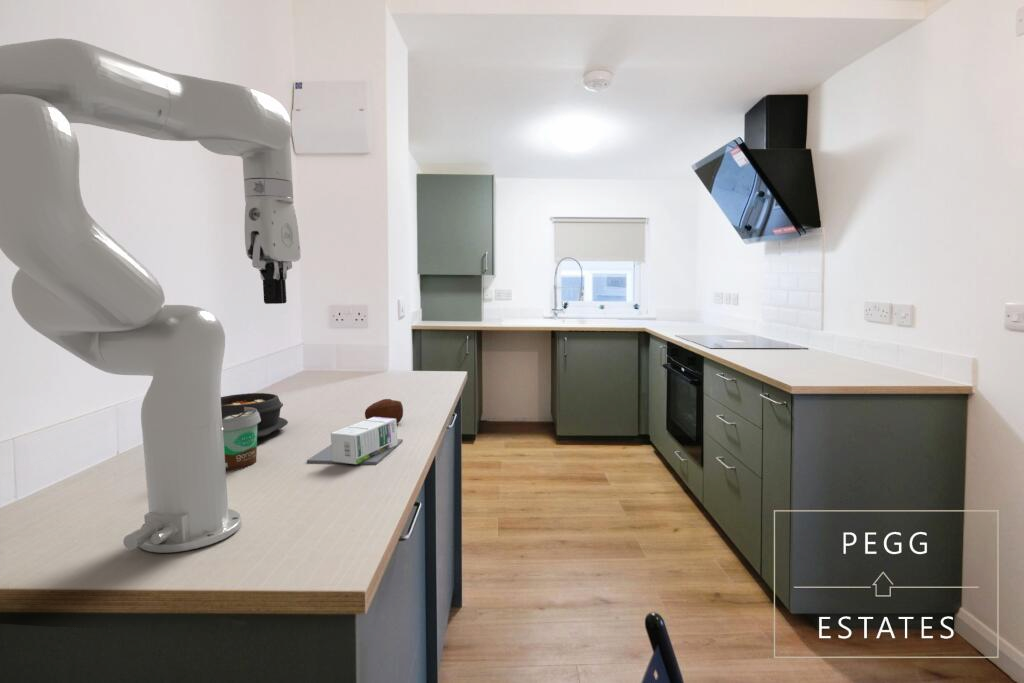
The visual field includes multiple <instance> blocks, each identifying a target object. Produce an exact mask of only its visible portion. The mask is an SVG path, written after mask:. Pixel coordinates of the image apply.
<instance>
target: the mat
mask: <svg viewBox="0 0 1024 683" xmlns="http://www.w3.org/2000/svg"><path fill="white" fill-rule="evenodd" d="M403 441H404V440H403V439H402V438H401V439H400V438H397V443H398V445H396V446H394V447H392V448H390V449H387V450H385V451H383V452H381V453H379V454H377V455H375V456H373V457H371V458H368V459H366V460H364V461H362V462H360V463H358V464H357V465H378V464H379V463H380V462H381V461H383V460H384V459H385V458H386V457H387V456H388V455H390V453H391V452H393V451H394V450H395V449H396V448H398V446H400V445H401V444H402V443H403ZM306 463H308V464H339V465H340V464H341V465H342V464H344V465H345V464H346V465H350V463H342V462H334V461H332V447H331V444H330V445H328V446H326V447H325V448H324V449H322V450H321V451H319V452H317V453H316V454H314V455H313V456H311V457H310V458H308V459H306Z"/></svg>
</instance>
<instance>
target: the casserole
mask: <svg viewBox="0 0 1024 683" xmlns="http://www.w3.org/2000/svg"><path fill="white" fill-rule="evenodd" d="M283 406H284V403H282V401H281V400H280V397H279V395H276V394H272V393H268V392H267V393H265V392H252V393H249V392H248V393H240V394H239V393H238V394H230V395H224V396H221V411H222V418H223V417H225V416H228V415H236V414H239V413H241V412H244V407H251V408H255V409H257V412H259V415H260V418H261V421H260V422H259V423H257V439H258V438H263V437H266V436H268V435H270V434H272V433H273V432H275V431H278V430H279V429H281V428H283V427H285V426H287V425H288V423H289V421H288V420H287V419H286V418H283V417H280V414H281V409H282V407H283Z"/></svg>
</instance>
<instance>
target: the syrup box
mask: <svg viewBox="0 0 1024 683" xmlns="http://www.w3.org/2000/svg"><path fill="white" fill-rule="evenodd" d="M397 425H398V423H397V424H396V419H393V418H381V417H372V418H370V419H365V420H362V421H360V422H356V423H354V424H352V425H349V426H347V427H346V426H345V427H343V428H341V429H337V430H336V431H335V430H334V431H333V432H330V440H331V441H330V442H331V444H330V445H331V447H332V461H334V462H342V463H350V464H351V465H359V464H358V463H360V462H362V461H364V460H366V459H368V458H371V457H373V456H375V455H377V454H379V453H381V452H383V451H385V450H387V449H390V448H392V447H394V446H396V445H398V443H397V439H398V430H397V429H398V426H397ZM398 446H399V445H398ZM350 464H349V465H350Z"/></svg>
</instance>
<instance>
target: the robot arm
mask: <svg viewBox="0 0 1024 683" xmlns="http://www.w3.org/2000/svg"><path fill="white" fill-rule="evenodd" d="M72 124H83V125H91V126H96V127H99V128H106V129H109V130H115V131H118V132H119V131H120V132H123V133H128V134H132V135H137V136H140V137H141V136H142V137H146V138H150V139H153V140H161V141H174V142H195V141H196V142H198V143H199V144H200V145H201V146H202V147H203V148H204V149H206V150H208V151H210V152H212V153H214V154H216V155H223V156H234V157H241V159H242V172H243V188H244V189H243V190H244V202H245V207H244V209H245V210H244V244H245V245H244V247H245V252H246V257H247V258H249V259H250V260H251V262H252V263H251V265H252V267H253V268H254V269H256V270H258V271H259V275H260V279H261V280H262V291H263V303H264V304H266V305H271V304H272V305H274V304H275V305H276V304H278V305H279V304H280V305H281V304H286V303H287V285H286V284H287V283H286V282H287V281H286V280H287V278H288V277H287V276H288V270H290V269H292V268H293V263H292V262H298V261H300V259H301V243H300V233H299V227H298V226H299V225H298V220H297V219H298V218H297V215H296V210H295V206H294V189H293V188H294V186H293V185H294V184H293V171H292V170H293V169H292V168H293V167H292V149H291V148H292V146H291V137H292V133H293V127H292V121H291V118H290V116H289V114H288V112H287V110H286V109H285V108H284V106H283V105H282V104H281V103H280V102H279V101H277V100H276V99H275V98H274V97H271V96H269V95H267V94H265V93H263V92H260V91H258V90H255V89H253V88H249V87H247V86H242V85H239V84H234V83H230V82H224V81H218V80H211V79H206V78H202V77H197V76H191V75H185V74H180V73H175V72H174V73H172V72H168V71H164V70H161V69H159V68H156V67H153V66H150V65H147V64H144V63H142V62H139V61H136V60H134V59H132V58H128V57H126V56H123V55H121V54H118V53H115V52H113V51H110V50H108V49H104V48H102V47H99V46H96V45H94V44H91V43H87V42H85V41H82V40H81V41H80V40H77V39H72V38H63V37H62V38H61V37H60V38H46V39H38V40H32V41H24V42H17V43H10V44H4V45H0V250H1V251H2V253H3V254H4V256H5V257H6V258H7V259H9V260H10V261H11V262H12V264H14V265H15V266H17V267H18V270H17V272H16V273H15V275H14V277H13V279H12V283H11V297H12V301H13V304H14V307H15V309H16V311H17V312H18V314H19V315H20V316H21V318H22V319H23V320H24V322H25V323H26V324H27V325H29V327H31V328H32V329H33V330H35V331H36V332H38V333H39V334H40V335H42V336H44V337H45V338H46V339H48V340H50V341H51V342H53V343H55V344H57V345H58V346H60V348H63V349H64V350H65V351H67V352H69V353H70V354H71V355H74V356H75V357H77V358H79V359H80V360H81V361H83V362H85V363H87V364H88V365H90V366H91V367H94V368H96V369H98V370H100V371H103V372H105V373H108V374H112V375H120V376H141V377H142V376H149V377H152V380H151V382H150V385H149V386H148V389H147V391H146V392H145V396H144V397H143V401H142V405H141V411H140V422H141V429H142V430H141V432H142V444H143V456H144V467H145V480H146V493H147V506H148V512H147V513H145V514H144V515H143V517H144V518H143V519H144V523H143V524H142V525H141V527H140V528H139V529H136V530H134V531H133V532H131V533H129V534H127V535H126V536H124V538H123V539H122V540H123V541H122V543H123V545H124V547H125V548H126V549H127V550H131V551H133V550H135V549H137V548H140V549H142V550H144V551H147V552H150V553H157V554H159V553H161V554H162V553H163V554H164V553H165V554H166V553H167V554H169V553H178V552H186V551H190V550H197V549H199V548H203V547H207V546H210V545H213V544H216V543H218V542H220V541H223V540H225V539H227V538H228V537H230V536H232V535H233V534H235V533H236V532H237V531H238V530H239V529H240V527H241V526H242V516H241V514H240V513H239V512H237V511H236V510H234V509H229V503H228V502H229V501H228V485H227V471H226V469H225V454H224V439H223V424H222V411H221V397H222V393H221V389H222V386H221V382H222V381H221V380H222V370H223V362H224V356H225V350H226V349H225V348H226V335H225V331H224V330H225V329H224V327H223V324H222V323H221V321H220V320H219V319H218V318H217V317H216V316H215V315H214V314H213V313H211V312H210V311H208V310H207V309H204V308H201V307H198V306H194V305H193V306H192V305H187V304H184V305H183V304H165V293H164V290H163V287H162V285H161V284H160V282H159V280H158V279H157V278H156V277H155V276H154V275H153V273H151V271H150V270H149V269H148V268H147V267H146V266H145V265H144V264H142V263H141V262H140V261H139V260H138V259H137V258H136V257H135V256H134V255H132V254H131V253H130V252H129V251H128V250H127V249H125V247H124V246H122V245H121V244H120V243H119V242H117V241H116V240H115V239H114V238H113V237H112V236H111V235H110V234H109V233H108V232H106V230H104V229H103V227H102V226H100V224H99V223H97V222H96V220H95V219H94V218H93V217H92V216H91V215H90V214H89V212H88V211H87V208H86V206H85V205H84V201H83V198H82V194H81V188H80V160H81V159H80V146H79V143H78V142H79V141H78V137H77V135H76V133H75V130H74V128H73V126H72Z"/></svg>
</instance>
